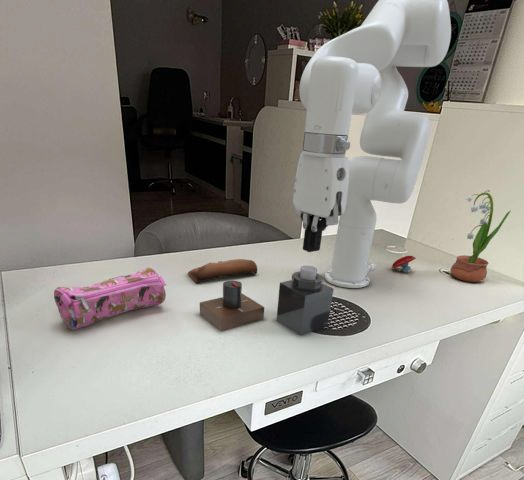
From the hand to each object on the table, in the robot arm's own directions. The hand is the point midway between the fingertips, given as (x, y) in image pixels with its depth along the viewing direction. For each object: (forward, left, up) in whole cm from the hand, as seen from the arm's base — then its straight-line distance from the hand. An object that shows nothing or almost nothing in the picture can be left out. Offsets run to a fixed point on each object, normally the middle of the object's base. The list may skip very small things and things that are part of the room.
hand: (311, 250), depth 77 cm
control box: (+11, -11, -16) cm, 23 cm away
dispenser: (0, 0, -16) cm, 17 cm away
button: (-52, -11, -17) cm, 55 cm away
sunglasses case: (-1, -34, -17) cm, 37 cm away
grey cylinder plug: (0, 0, -6) cm, 6 cm away
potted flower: (-65, +2, -17) cm, 67 cm away
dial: (+11, -11, -13) cm, 21 cm away
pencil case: (+32, -24, -17) cm, 43 cm away
